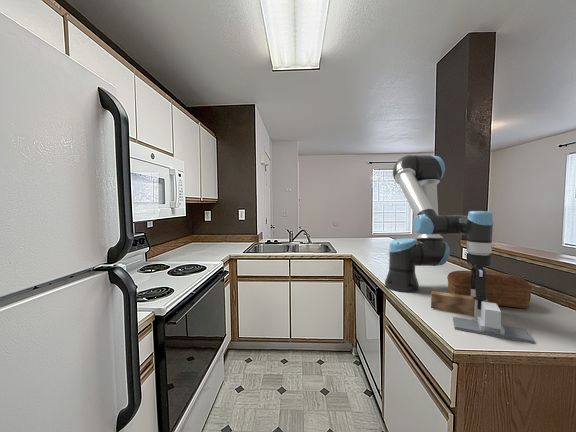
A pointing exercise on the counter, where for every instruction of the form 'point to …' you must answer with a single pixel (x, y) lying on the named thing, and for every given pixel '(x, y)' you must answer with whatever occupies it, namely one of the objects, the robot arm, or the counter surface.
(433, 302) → the walnut beam
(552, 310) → the counter surface
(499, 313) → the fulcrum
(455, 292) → the bread
